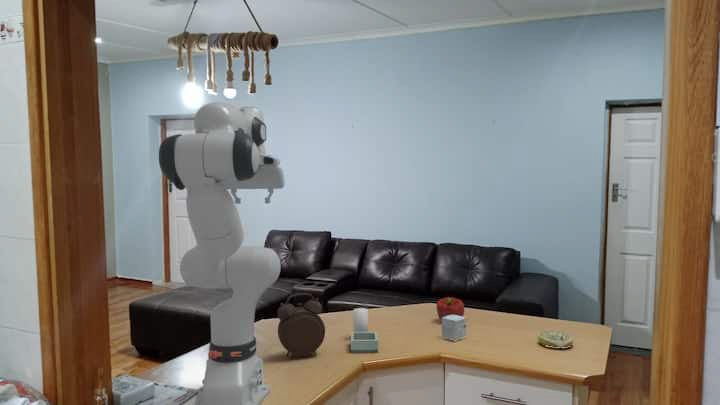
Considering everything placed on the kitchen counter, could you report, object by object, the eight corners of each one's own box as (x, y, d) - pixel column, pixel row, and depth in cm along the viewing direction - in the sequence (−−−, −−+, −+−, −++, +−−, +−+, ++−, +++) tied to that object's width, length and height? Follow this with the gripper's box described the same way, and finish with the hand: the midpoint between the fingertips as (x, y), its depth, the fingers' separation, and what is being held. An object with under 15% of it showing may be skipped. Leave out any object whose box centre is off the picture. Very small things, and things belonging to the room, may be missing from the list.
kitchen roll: (368, 340, 179) (368, 311, 178) (353, 340, 179) (353, 312, 178) (368, 335, 184) (367, 307, 183) (353, 336, 184) (353, 308, 183)
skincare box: (455, 342, 177) (455, 320, 176) (441, 338, 181) (441, 317, 181) (466, 338, 181) (466, 317, 180) (452, 334, 185) (452, 313, 185)
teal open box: (377, 352, 167) (377, 340, 167) (351, 353, 167) (350, 340, 167) (376, 343, 176) (376, 331, 176) (351, 343, 176) (351, 332, 176)
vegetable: (463, 327, 192) (463, 300, 192) (435, 325, 195) (435, 299, 194) (464, 319, 203) (464, 293, 202) (437, 317, 205) (437, 292, 205)
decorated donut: (565, 353, 166) (565, 341, 165) (532, 345, 173) (532, 334, 173) (577, 344, 173) (577, 333, 173) (545, 337, 180) (545, 327, 180)
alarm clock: (319, 348, 172) (319, 288, 170) (326, 356, 165) (325, 293, 163) (275, 355, 166) (274, 293, 165) (280, 363, 160) (279, 298, 158)
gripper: (215, 160, 163) (217, 204, 164) (282, 159, 163) (283, 203, 164) (221, 160, 169) (222, 203, 170) (284, 159, 169) (285, 202, 170)
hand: (252, 203), depth 167 cm, fingers open, 8 cm apart
